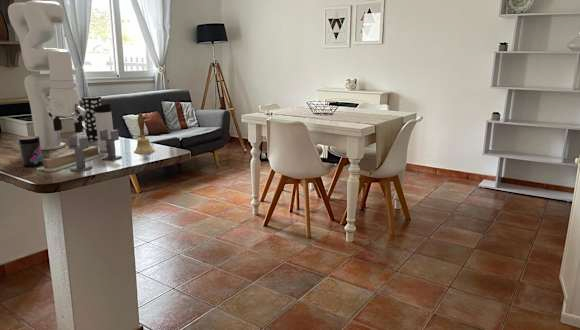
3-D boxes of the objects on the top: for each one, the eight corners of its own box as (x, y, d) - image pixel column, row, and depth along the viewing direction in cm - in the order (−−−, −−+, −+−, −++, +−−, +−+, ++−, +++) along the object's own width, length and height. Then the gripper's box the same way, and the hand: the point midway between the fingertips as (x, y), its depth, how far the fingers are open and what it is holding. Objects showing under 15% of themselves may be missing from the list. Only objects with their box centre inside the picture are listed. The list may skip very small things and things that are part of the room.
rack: (69, 170, 154) (64, 138, 151) (110, 157, 173) (106, 128, 170) (83, 171, 152) (78, 139, 149) (122, 158, 171) (119, 129, 169)
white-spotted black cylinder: (93, 137, 214) (88, 96, 210) (109, 137, 213) (104, 96, 208) (83, 141, 207) (77, 98, 202) (99, 141, 205) (94, 98, 200)
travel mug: (110, 153, 180) (105, 104, 175) (96, 152, 181) (90, 104, 176) (119, 150, 186) (114, 102, 181) (105, 149, 187) (99, 102, 182)
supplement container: (27, 168, 157) (22, 140, 155) (19, 166, 161) (14, 138, 159) (46, 164, 162) (42, 137, 160) (38, 162, 166) (34, 135, 164)
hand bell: (134, 154, 177) (130, 115, 173) (133, 150, 185) (129, 113, 181) (155, 152, 181) (152, 114, 177) (153, 148, 188) (150, 111, 184)
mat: (36, 170, 155) (36, 168, 155) (89, 154, 179) (89, 152, 179) (54, 171, 153) (54, 170, 153) (106, 155, 177) (105, 153, 177)
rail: (44, 168, 155) (42, 159, 155) (92, 153, 177) (91, 146, 177) (50, 168, 154) (49, 160, 154) (98, 153, 177) (97, 146, 176)
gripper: (35, 84, 158) (42, 131, 163) (74, 87, 153) (80, 135, 158) (52, 83, 165) (58, 127, 170) (89, 85, 160) (94, 131, 165)
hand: (68, 131), depth 164 cm, fingers open, 9 cm apart
